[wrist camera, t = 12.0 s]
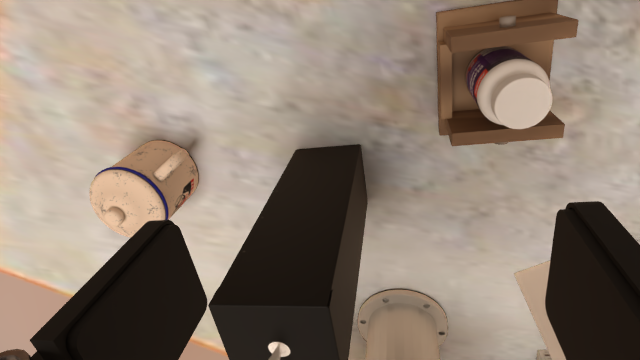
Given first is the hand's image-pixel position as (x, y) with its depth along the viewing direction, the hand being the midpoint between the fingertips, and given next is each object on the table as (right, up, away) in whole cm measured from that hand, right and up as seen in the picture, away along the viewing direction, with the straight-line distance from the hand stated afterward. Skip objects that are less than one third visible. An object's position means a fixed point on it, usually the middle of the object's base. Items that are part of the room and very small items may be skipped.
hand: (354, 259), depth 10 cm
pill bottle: (+16, +12, +28) cm, 34 cm away
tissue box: (+1, +3, +37) cm, 37 cm away
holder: (+16, +13, +28) cm, 35 cm away
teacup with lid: (-20, +4, +40) cm, 45 cm away
